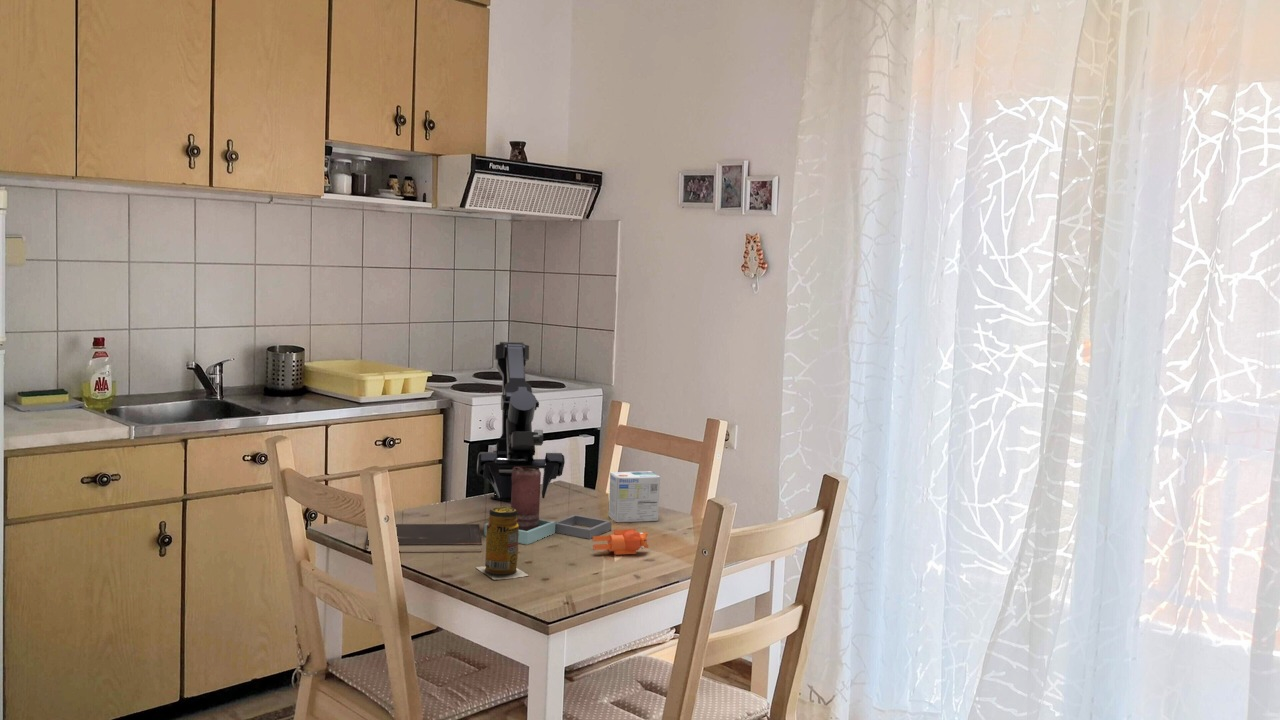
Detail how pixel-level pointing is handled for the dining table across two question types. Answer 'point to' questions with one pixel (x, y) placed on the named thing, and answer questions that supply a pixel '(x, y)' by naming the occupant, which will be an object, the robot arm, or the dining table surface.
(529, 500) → the can
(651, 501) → the light bulb box
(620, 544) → the orange toy figure
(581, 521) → the grey square tray
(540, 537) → the tray
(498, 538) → the condiment
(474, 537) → the hardcover book
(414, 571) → the dining table surface
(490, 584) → the dining table surface
